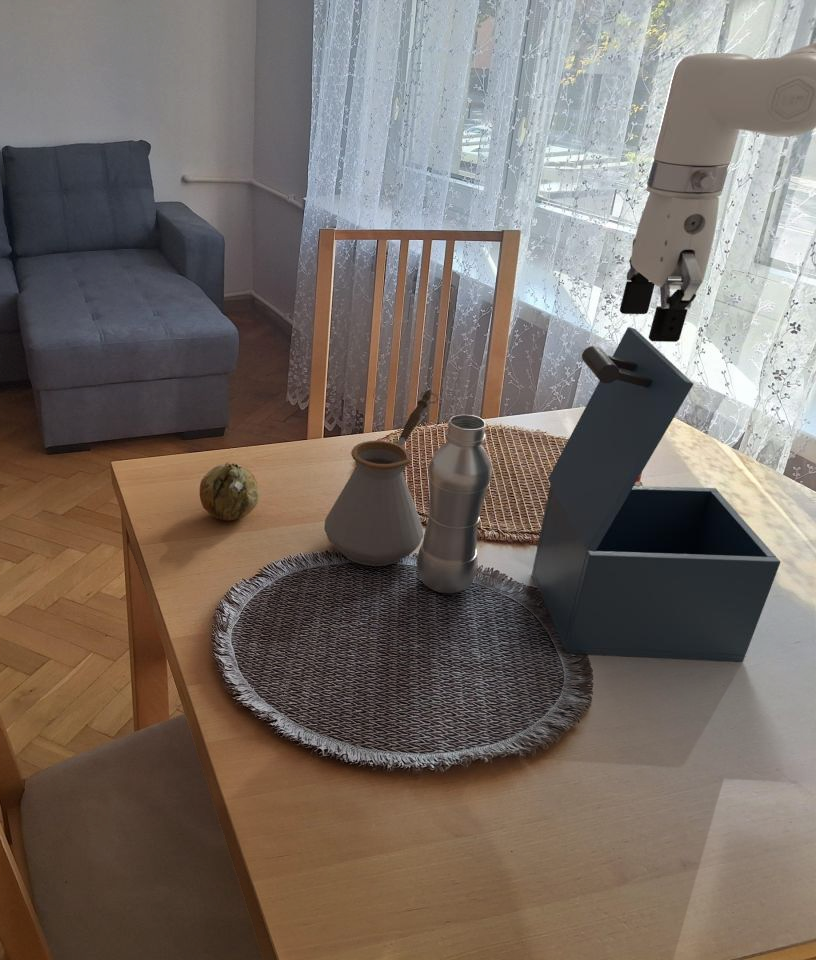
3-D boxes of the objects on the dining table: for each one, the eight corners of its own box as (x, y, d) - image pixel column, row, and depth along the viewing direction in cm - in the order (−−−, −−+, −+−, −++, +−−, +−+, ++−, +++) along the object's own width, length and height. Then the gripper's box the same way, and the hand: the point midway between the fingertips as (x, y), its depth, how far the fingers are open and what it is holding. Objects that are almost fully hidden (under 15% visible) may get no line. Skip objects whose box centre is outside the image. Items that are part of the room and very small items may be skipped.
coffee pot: (398, 587, 96) (412, 469, 88) (306, 556, 102) (312, 443, 94) (461, 504, 111) (478, 397, 104) (378, 481, 117) (387, 379, 109)
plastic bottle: (480, 575, 97) (508, 415, 87) (465, 608, 92) (492, 441, 82) (424, 560, 100) (444, 403, 90) (406, 591, 95) (426, 428, 85)
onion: (273, 511, 111) (274, 456, 107) (233, 536, 106) (233, 480, 102) (228, 492, 116) (228, 439, 112) (188, 516, 111) (186, 461, 107)
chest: (686, 579, 95) (715, 487, 90) (743, 661, 84) (781, 561, 78) (531, 574, 97) (550, 483, 91) (565, 653, 85) (589, 555, 80)
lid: (635, 328, 82) (579, 314, 82) (694, 383, 71) (629, 366, 71) (554, 480, 91) (504, 467, 91) (595, 552, 79) (536, 537, 79)
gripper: (760, 194, 87) (711, 353, 95) (689, 164, 102) (653, 304, 110) (682, 194, 88) (640, 352, 96) (623, 164, 103) (592, 303, 111)
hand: (647, 326), depth 103 cm, fingers open, 9 cm apart
